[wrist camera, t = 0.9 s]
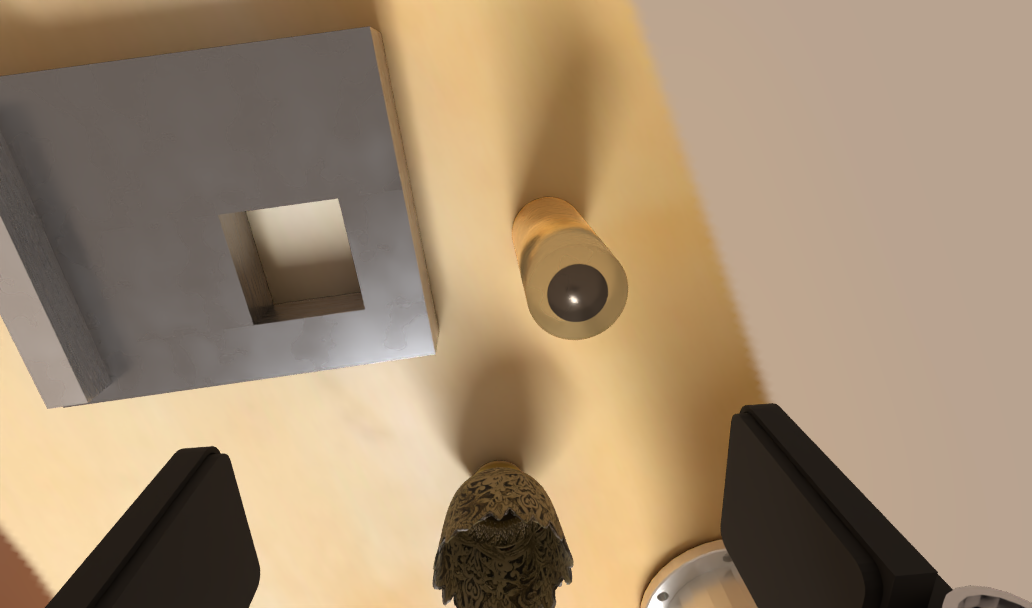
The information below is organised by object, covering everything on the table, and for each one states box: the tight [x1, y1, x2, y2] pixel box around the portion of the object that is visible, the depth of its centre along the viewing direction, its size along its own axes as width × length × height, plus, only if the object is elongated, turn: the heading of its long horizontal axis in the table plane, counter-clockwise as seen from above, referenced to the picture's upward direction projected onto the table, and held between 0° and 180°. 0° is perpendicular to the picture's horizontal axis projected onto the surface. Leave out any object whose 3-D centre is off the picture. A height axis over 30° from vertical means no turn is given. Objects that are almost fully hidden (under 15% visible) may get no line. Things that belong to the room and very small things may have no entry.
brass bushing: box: [512, 197, 628, 340], centre depth 27 cm, size 4×4×10 cm
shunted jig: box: [0, 26, 439, 409], centre depth 28 cm, size 16×20×5 cm
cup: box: [433, 461, 573, 608], centre depth 33 cm, size 8×7×8 cm
